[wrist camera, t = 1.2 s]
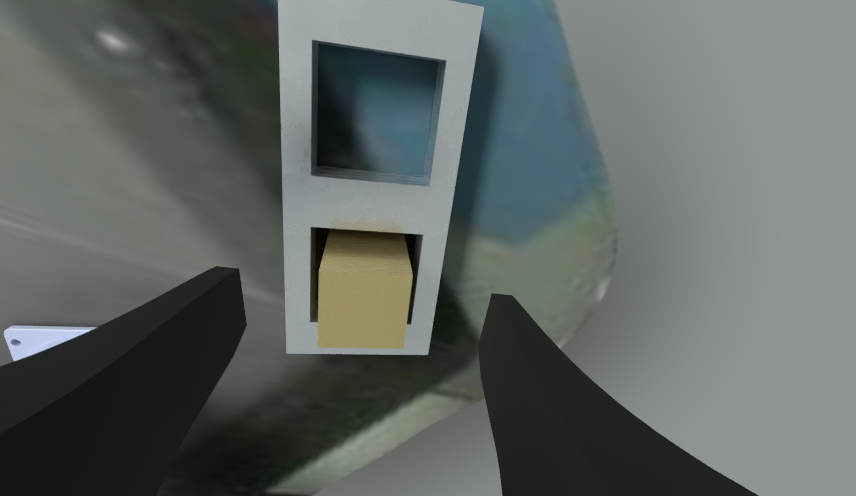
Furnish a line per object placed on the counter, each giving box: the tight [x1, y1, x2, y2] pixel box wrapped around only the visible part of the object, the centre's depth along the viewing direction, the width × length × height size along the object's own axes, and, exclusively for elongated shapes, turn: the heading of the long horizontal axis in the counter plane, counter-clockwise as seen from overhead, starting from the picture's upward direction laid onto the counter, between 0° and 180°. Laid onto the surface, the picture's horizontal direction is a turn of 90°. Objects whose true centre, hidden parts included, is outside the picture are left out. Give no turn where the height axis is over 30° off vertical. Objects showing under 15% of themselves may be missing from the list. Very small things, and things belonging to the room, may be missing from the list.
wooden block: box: [318, 228, 413, 349], centre depth 22 cm, size 4×4×6 cm
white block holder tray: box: [278, 0, 484, 355], centre depth 22 cm, size 20×9×2 cm, turn 173°
